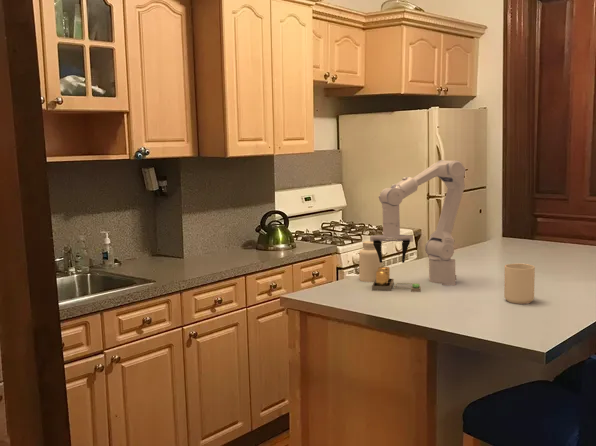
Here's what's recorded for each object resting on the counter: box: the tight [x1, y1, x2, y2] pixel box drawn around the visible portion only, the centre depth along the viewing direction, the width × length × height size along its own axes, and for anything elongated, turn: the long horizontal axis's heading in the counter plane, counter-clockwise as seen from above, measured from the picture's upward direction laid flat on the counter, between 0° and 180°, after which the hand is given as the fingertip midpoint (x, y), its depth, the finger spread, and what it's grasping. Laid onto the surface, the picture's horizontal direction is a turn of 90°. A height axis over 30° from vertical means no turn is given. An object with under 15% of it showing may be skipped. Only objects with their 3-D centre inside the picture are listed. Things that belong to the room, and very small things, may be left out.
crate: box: [371, 278, 395, 292], centre depth 222 cm, size 7×12×2 cm, turn 167°
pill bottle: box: [358, 240, 382, 283], centre depth 233 cm, size 8×8×15 cm
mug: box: [503, 263, 536, 305], centre depth 201 cm, size 12×9×11 cm
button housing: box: [410, 286, 422, 293], centre depth 214 cm, size 3×3×2 cm
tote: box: [393, 282, 420, 290], centre depth 221 cm, size 8×8×1 cm
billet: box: [376, 270, 388, 286], centre depth 218 cm, size 4×4×6 cm
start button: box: [411, 283, 421, 288], centre depth 214 cm, size 2×2×3 cm
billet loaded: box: [378, 266, 391, 282], centre depth 224 cm, size 4×4×6 cm
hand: (392, 262), depth 220 cm, fingers open, 7 cm apart
